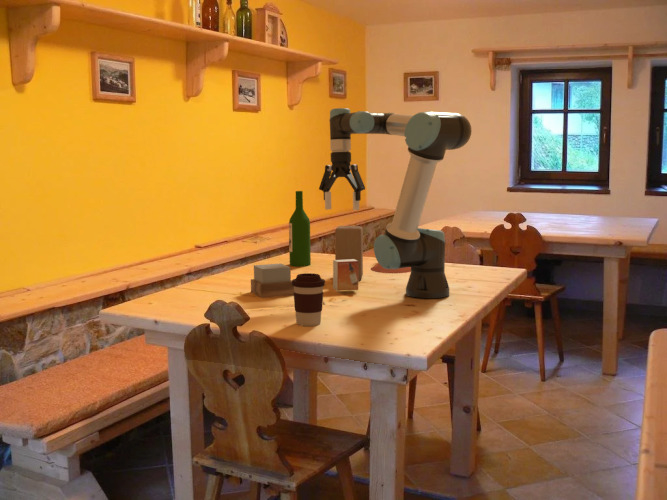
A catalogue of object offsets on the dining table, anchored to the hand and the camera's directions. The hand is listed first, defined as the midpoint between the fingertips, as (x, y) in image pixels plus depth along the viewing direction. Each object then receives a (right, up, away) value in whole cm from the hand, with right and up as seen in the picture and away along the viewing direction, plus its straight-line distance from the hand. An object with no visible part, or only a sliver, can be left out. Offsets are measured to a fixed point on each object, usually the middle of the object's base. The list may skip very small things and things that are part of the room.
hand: (342, 209), depth 271 cm
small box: (+1, -29, -9) cm, 31 cm away
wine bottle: (-17, -23, +43) cm, 52 cm away
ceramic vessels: (+23, -23, +39) cm, 51 cm away
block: (+3, -26, +14) cm, 30 cm away
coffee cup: (-11, -37, -50) cm, 63 cm away
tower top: (-24, -25, -17) cm, 39 cm away
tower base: (-24, -30, -16) cm, 42 cm away
